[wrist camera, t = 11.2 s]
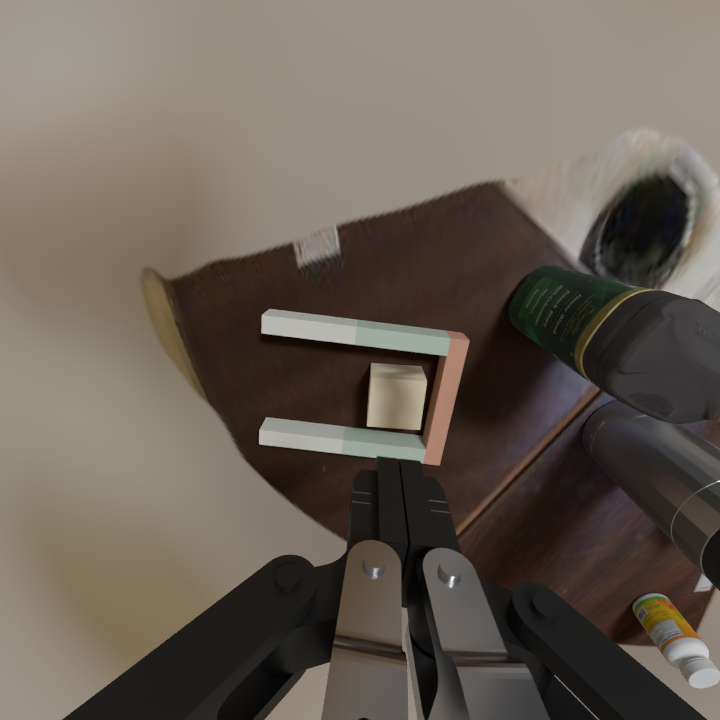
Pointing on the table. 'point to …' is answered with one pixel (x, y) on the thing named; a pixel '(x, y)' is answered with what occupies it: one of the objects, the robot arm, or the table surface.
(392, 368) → the maple block
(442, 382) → the channel
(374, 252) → the table surface
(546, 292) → the coffee jar
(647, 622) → the supplement bottle
